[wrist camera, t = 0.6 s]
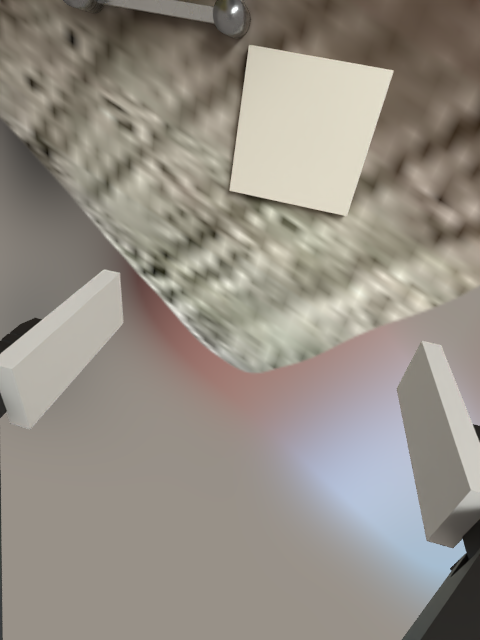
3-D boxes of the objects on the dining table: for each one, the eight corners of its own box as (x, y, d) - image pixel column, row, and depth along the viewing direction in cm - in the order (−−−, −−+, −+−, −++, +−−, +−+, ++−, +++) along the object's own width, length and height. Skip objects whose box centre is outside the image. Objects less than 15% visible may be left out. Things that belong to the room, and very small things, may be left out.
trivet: (250, 45, 31) (249, 44, 31) (392, 70, 30) (393, 70, 29) (231, 188, 38) (229, 190, 37) (346, 213, 37) (346, 216, 36)
